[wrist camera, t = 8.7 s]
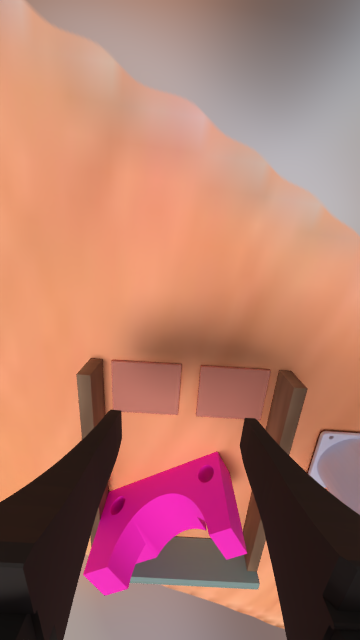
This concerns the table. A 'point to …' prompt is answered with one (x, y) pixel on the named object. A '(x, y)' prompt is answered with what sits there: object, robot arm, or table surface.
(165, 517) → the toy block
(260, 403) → the trap squares
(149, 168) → the table surface
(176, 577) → the end stop
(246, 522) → the lane rails
